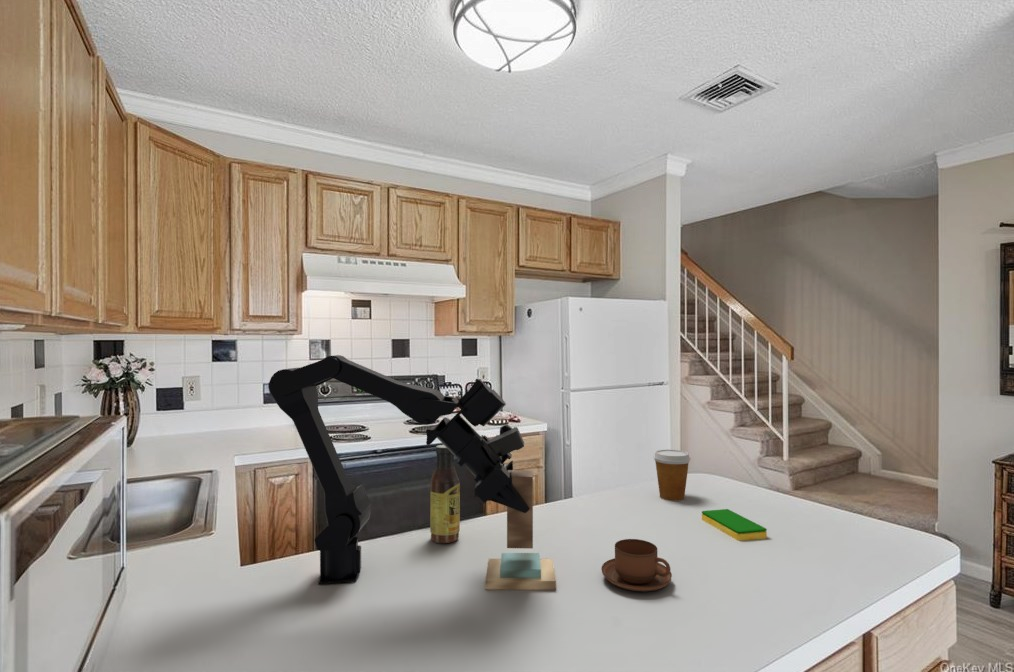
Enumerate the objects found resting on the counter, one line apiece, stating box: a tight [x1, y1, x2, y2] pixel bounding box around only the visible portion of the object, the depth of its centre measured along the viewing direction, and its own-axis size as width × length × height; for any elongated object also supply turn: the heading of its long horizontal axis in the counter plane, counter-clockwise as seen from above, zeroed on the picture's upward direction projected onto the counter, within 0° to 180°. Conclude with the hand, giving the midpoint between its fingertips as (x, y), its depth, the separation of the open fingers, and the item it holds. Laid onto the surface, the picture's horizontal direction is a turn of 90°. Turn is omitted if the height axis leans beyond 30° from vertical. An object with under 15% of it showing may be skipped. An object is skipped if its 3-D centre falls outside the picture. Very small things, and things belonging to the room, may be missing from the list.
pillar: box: [506, 469, 534, 549], centre depth 94 cm, size 4×4×12 cm
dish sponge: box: [701, 508, 768, 542], centre depth 119 cm, size 7×14×2 cm, turn 12°
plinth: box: [484, 552, 557, 591], centre depth 94 cm, size 12×9×3 cm
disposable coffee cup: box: [653, 448, 691, 502], centre depth 142 cm, size 10×10×12 cm
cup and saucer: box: [601, 538, 673, 592], centre depth 93 cm, size 12×12×6 cm
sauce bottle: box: [429, 444, 461, 544], centre depth 113 cm, size 6×6×20 cm
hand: (527, 506), depth 94 cm, fingers closed on pillar, 4 cm apart
